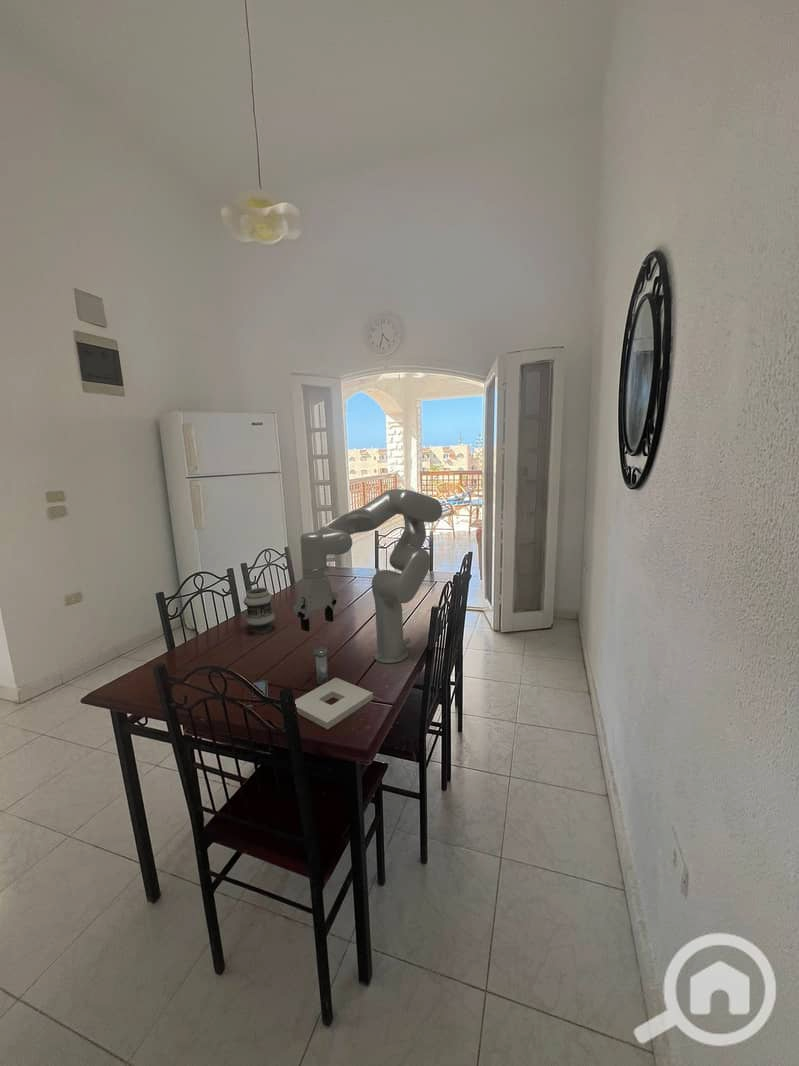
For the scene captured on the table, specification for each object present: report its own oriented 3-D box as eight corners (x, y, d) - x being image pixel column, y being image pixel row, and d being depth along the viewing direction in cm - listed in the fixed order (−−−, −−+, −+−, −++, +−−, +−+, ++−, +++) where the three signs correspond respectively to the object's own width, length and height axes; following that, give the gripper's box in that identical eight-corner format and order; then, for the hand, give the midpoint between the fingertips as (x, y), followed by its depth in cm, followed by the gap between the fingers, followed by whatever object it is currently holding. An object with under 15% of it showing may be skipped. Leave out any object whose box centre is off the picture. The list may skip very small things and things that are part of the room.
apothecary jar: (240, 633, 181) (236, 592, 178) (261, 623, 191) (258, 584, 188) (261, 638, 175) (257, 596, 172) (282, 627, 185) (278, 587, 182)
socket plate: (336, 683, 137) (335, 677, 137) (373, 699, 127) (372, 692, 127) (290, 709, 123) (289, 703, 123) (327, 729, 114) (327, 722, 113)
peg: (323, 677, 141) (321, 645, 140) (333, 681, 139) (331, 648, 137) (312, 683, 138) (310, 650, 136) (322, 687, 135) (319, 654, 133)
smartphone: (267, 679, 141) (267, 702, 126) (267, 682, 141) (267, 705, 127) (243, 683, 139) (241, 707, 124) (243, 686, 139) (241, 710, 124)
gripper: (327, 565, 141) (330, 615, 144) (284, 576, 128) (287, 631, 130) (343, 568, 136) (346, 620, 139) (300, 580, 123) (303, 637, 126)
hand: (317, 625), depth 135 cm, fingers open, 9 cm apart
